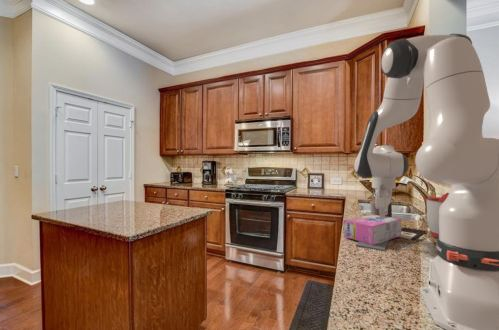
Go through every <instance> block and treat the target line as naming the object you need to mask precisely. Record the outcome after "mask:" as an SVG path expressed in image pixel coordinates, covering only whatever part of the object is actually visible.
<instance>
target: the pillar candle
mask: <svg viewBox="0 0 499 330" xmlns="http://www.w3.org/2000/svg"><path fill="white" fill-rule="evenodd" d="M375 202H376V199H375V200H370V202H369V203H370V215H371V214H372V215H379V216H380V214H379V209H376V206H375ZM392 204H393V203H392V202H391V203H390V204H389V205H388V214H387V215H385V216H386V217H392V218H393V214H392V212H393V211H392V209H393V208H392Z"/></svg>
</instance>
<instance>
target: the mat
mask: <svg viewBox="0 0 499 330" xmlns="http://www.w3.org/2000/svg"><path fill="white" fill-rule="evenodd" d="M389 242H390V240H387V241H385V242H382V243H379V244H376V245H371V244H367V243H364V242H360V241H358V242H357V243H356V245H355V246H356V247H359V248H364V249H371V250H377V251H383V252H385V251H386V248H387V246H388V244H389Z"/></svg>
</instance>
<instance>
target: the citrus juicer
mask: <svg viewBox="0 0 499 330" xmlns="http://www.w3.org/2000/svg"><path fill="white" fill-rule="evenodd" d="M448 195H449V192H446V193H444V194H442V196H440V197H437V196H434V197H426V198H425V199H426V220H427V226H428V229H429V232H430V234H431V236H432V237H435V238H437V239H438V238H439V208H440V206H441V204H442V203H443V202H444V201H445V200H446V198H447V197H448Z"/></svg>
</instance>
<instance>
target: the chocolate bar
mask: <svg viewBox="0 0 499 330" xmlns="http://www.w3.org/2000/svg"><path fill="white" fill-rule="evenodd" d="M425 233H426V230H424V229H423V230H422V229H416V228H409V227H405V226H404V227H401V236H399V237H398V238H402V239H407V240H413V241H416V240H417V239H418V238H420V237H421V236H423V235H424V234H425Z"/></svg>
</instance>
